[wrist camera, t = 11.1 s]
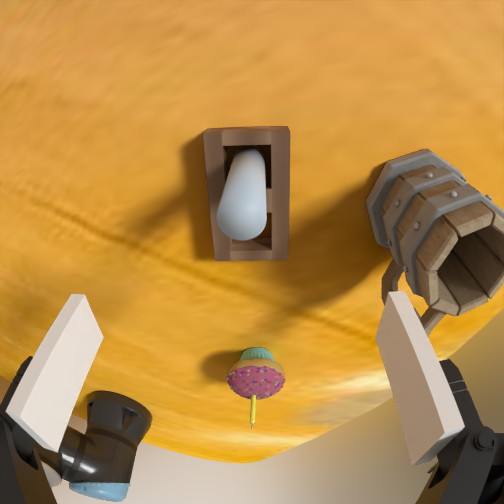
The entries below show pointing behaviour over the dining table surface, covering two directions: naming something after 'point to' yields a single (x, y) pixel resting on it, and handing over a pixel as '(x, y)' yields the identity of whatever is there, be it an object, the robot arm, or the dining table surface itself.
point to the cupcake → (256, 376)
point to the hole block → (275, 190)
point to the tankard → (437, 235)
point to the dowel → (244, 196)
